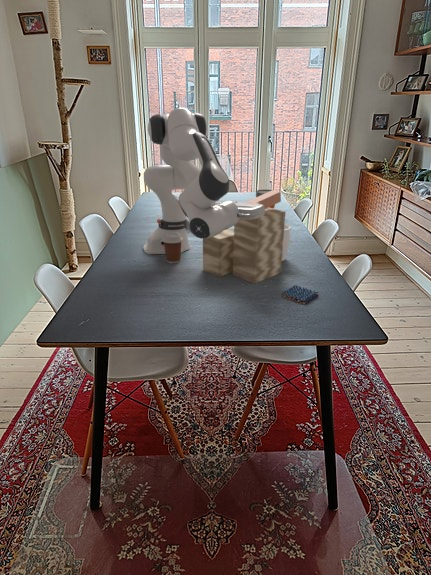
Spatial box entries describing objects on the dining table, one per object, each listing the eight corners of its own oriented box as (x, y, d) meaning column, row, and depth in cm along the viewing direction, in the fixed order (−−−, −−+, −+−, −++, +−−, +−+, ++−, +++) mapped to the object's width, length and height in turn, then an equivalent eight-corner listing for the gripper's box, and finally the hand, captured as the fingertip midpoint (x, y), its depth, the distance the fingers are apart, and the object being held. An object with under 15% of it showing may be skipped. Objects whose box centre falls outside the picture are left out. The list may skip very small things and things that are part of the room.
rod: (230, 225, 144) (229, 215, 142) (222, 223, 147) (221, 212, 145) (280, 201, 159) (280, 191, 157) (273, 199, 162) (272, 190, 160)
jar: (269, 263, 177) (272, 230, 170) (261, 255, 186) (263, 224, 179) (292, 261, 179) (295, 229, 173) (282, 253, 188) (285, 222, 182)
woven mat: (293, 288, 155) (294, 283, 154) (319, 296, 149) (319, 291, 148) (279, 297, 148) (279, 292, 147) (305, 306, 141) (305, 301, 141)
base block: (219, 276, 163) (219, 239, 157) (203, 269, 170) (202, 233, 163) (239, 269, 171) (241, 233, 164) (223, 262, 177) (224, 227, 171)
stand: (254, 283, 158) (257, 218, 147) (233, 274, 166) (234, 212, 155) (280, 273, 167) (285, 211, 156) (259, 265, 175) (262, 205, 164)
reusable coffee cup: (276, 218, 245) (277, 193, 239) (255, 218, 245) (256, 193, 239) (273, 213, 256) (275, 189, 250) (254, 213, 257) (255, 189, 250)
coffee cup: (164, 265, 175) (163, 238, 170) (161, 258, 183) (160, 232, 178) (185, 263, 177) (184, 237, 172) (181, 256, 185) (180, 231, 180)
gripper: (253, 207, 127) (272, 196, 137) (200, 203, 138) (222, 194, 148) (254, 226, 130) (273, 214, 140) (202, 221, 141) (223, 210, 151)
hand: (246, 204), depth 144 cm, fingers open, 8 cm apart
